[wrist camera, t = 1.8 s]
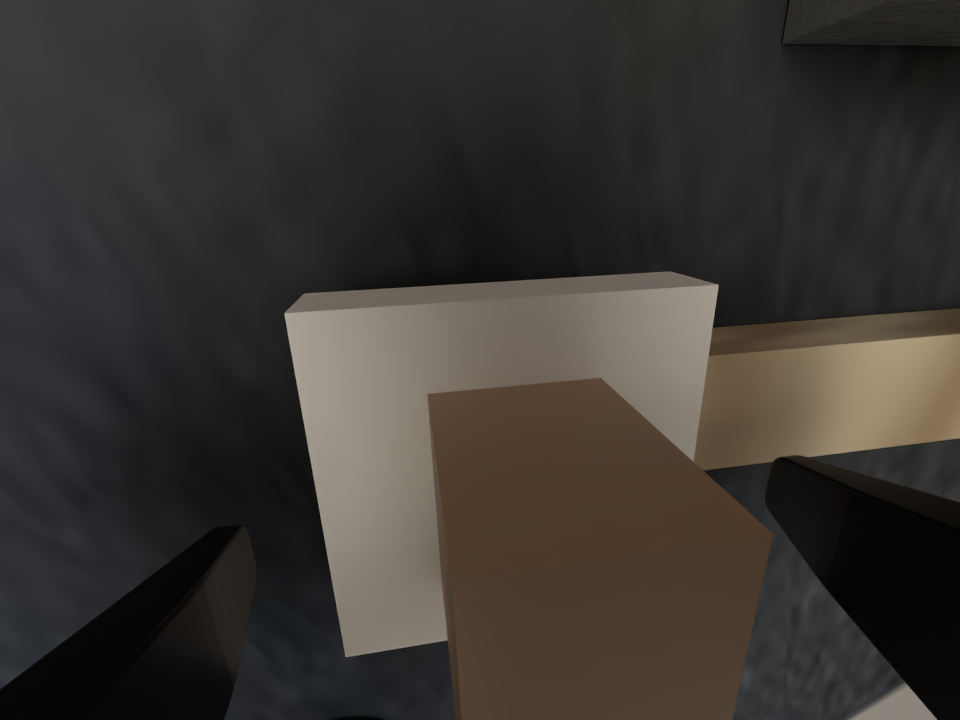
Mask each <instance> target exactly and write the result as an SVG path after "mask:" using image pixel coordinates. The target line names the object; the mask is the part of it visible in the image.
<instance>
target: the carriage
mask: <svg viewBox="0 0 960 720" xmlns="http://www.w3.org/2000/svg"><path fill="white" fill-rule="evenodd" d="M718 286H719V285H718V284H714V283H710V282H707V281H703V280H700V279H696V278H692V277H689V276H685V275H682V274H678V273H674V272H671V271H670V272H653V273H636V274H620V275H603V276H587V277H570V278H554V279H537V280H520V281H504V282H487V283H471V284H454V285H438V286H421V287H404V288H388V289H371V290H355V291H338V292H322V293H305V294H303V295H302V296H301V297H300V298H299V299H298V300H297V301H296V302H295V303H294V304H293V305H292V306H291V307H290V308H289V309H288V310H287V311H286V312H285V313H284V315H285V320H286V326H287V331H288V337H289V343H290V348H291V354H292V359H293V365H294V371H295V376H296V382H297V388H298V393H299V399H300V404H301V410H302V416H303V421H304V427H305V432H306V438H307V444H308V449H309V455H310V460H311V466H312V472H313V477H314V483H315V489H316V494H317V500H318V505H319V511H320V517H321V522H322V528H323V533H324V539H325V545H326V550H327V556H328V561H329V567H330V573H331V578H332V584H333V590H334V595H335V601H336V606H337V612H338V618H339V623H340V629H341V634H342V640H343V646H344V651H345V657H351V656H357V655H363V654H369V653H375V652H381V651H386V650H392V649H398V648H404V647H410V646H416V645H422V644H428V643H434V642H440V641H446V640H448V648H449V657H450V667H451V676H452V686H453V695H454V705H455V714H456V720H732V718H733V714H734V709H735V705H736V700H737V696H738V691H739V687H740V682H741V678H742V673H743V669H744V664H745V660H746V655H747V651H748V646H749V642H750V637H751V633H752V629H753V624H754V620H755V615H756V611H757V606H758V602H759V597H760V593H761V588H762V584H763V579H764V575H765V570H766V566H767V561H768V557H769V552H770V548H771V544H772V539H773V535H774V534H772V533H771V532H770V531H769V530H768V529H767V528H766V527H765V526H764V525H763V524H761V523H760V522H759V521H758V520H757V519H756V518H755V517H754V516H753V515H751V514H750V513H749V512H748V511H747V510H746V509H745V508H744V507H743V506H742V505H740V504H739V503H738V502H737V501H736V500H735V499H734V498H733V497H732V496H731V495H729V494H728V493H727V492H726V491H725V490H724V489H723V488H722V487H721V486H720V485H718V484H717V483H716V482H715V481H714V480H713V479H712V478H711V477H710V476H708V475H707V474H706V473H705V472H704V471H703V470H702V469H701V468H700V467H699V466H697V465H696V464H695V463H694V462H693V461H694V454H695V447H696V440H697V433H698V426H699V419H700V412H701V405H702V398H703V391H704V384H705V377H706V370H707V363H708V356H709V349H710V342H711V335H712V328H713V321H714V314H715V307H716V300H717V293H718Z"/></svg>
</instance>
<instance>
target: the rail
mask: <svg viewBox="0 0 960 720" xmlns="http://www.w3.org/2000/svg"><path fill="white" fill-rule="evenodd" d="M957 438H960V308H956V309H943V310H930V311H918V312H905V313H893V314H880V315H868V316H855V317H842V318H830V319H817V320H805V321H792V322H780V323H767V324H754V325H742V326H729V327H717V328H712V335H711V342H710V349H709V356H708V363H707V370H706V377H705V384H704V391H703V398H702V405H701V412H700V419H699V426H698V433H697V440H696V447H695V454H694V461H693V462H694V463H695V464H696V465H697V466H699V467H700V468H701V469H702V470H710V469H718V468H726V467H734V466H742V465H750V464H758V463H766V462H773V461H774V460H775V459H776V458H778V457H783V456H791V455H801V456H805V457H814V456H822V455H830V454H838V453H846V452H854V451H861V450H869V449H877V448H885V447H893V446H901V445H909V444H917V443H925V442H933V441H941V440H949V439H957Z"/></svg>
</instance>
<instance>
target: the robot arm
mask: <svg viewBox="0 0 960 720" xmlns="http://www.w3.org/2000/svg"><path fill="white" fill-rule="evenodd" d="M765 502H766V505H767V508H768V510H769V511H770V513H771V514H772V515H773V517H774V518H775V520H776V521H777V522H778V524H779V525H780V527H781V528H782V529H783V531H784V532H785V533H786V535H787V536H788V538H789V539H790V540H791V542H792V543H793V545H794V546H795V547H796V549H797V550H798V551H799V553H800V554H801V556H802V557H803V558H804V560H805V561H806V563H807V564H808V565H809V567H810V568H811V569H812V571H813V572H814V574H815V575H816V576H817V578H818V579H819V580H820V582H821V583H822V584H823V586H824V587H825V588H826V589H827V591H828V592H829V593H830V594H831V595H832V597H833V598H834V599H835V600H836V601H837V603H838V604H839V605H840V606H841V607H842V608H843V610H844V611H845V612H846V613H847V614H848V616H849V617H850V618H851V619H852V620H853V621H854V623H855V624H856V625H857V626H858V627H859V628H860V630H861V631H862V632H863V633H864V634H865V635H866V637H867V638H868V639H869V640H870V641H871V643H872V644H873V645H874V646H875V647H876V648H877V650H878V651H879V652H880V653H881V654H882V655H883V657H884V658H885V659H886V660H887V661H888V662H889V664H890V665H891V666H892V667H893V668H894V669H895V671H896V672H897V673H898V674H899V675H900V677H901V678H902V679H903V680H904V681H905V682H906V684H907V685H908V686H909V687H910V688H911V689H912V691H913V692H914V693H915V694H916V695H917V696H918V698H919V699H920V700H921V701H922V702H923V703H924V705H925V706H926V707H927V708H928V709H929V711H930V712H931V713H932V714H933V715H934V716H935V718H936V719H937V720H960V502H958V501H954V500H951V499H947V498H944V497H941V496H937V495H934V494H930V493H927V492H924V491H920V490H917V489H913V488H910V487H907V486H903V485H900V484H897V483H893V482H890V481H886V480H883V479H880V478H876V477H873V476H869V475H866V474H863V473H859V472H856V471H852V470H849V469H846V468H842V467H839V466H835V465H832V464H829V463H825V462H822V461H819V460H815V459H812V458H808V457H805V456H801V455H791V456H783V457H778V458H776V459H775V460H774V461H773V462H772V464H771V468H770V473H769V478H768V483H767V487H766V492H765ZM256 582H257V566H256V562H255V557H254V553H253V549H252V545H251V541H250V537H249V533H248V530H247V529H246V527H245V526H243V525H242V524H238V525H230V526H222V527H216V528H214V529H212V530H211V531H210V532H208V533H207V534H206V535H204V536H203V537H202V538H200V539H199V540H198V541H196V542H195V543H194V544H192V545H191V546H190V547H188V548H187V549H186V550H184V551H183V552H182V553H180V554H179V555H178V556H176V557H175V558H174V559H172V560H171V561H170V562H169V563H167V564H166V565H165V566H163V567H162V568H161V569H159V570H158V571H157V572H155V573H154V574H153V575H151V576H150V577H149V578H147V579H146V580H145V581H143V582H142V583H141V584H139V585H138V586H137V587H135V588H134V589H133V590H131V591H130V592H129V593H127V594H126V595H125V596H123V597H122V598H121V599H119V600H118V601H117V602H116V603H114V604H113V605H112V606H110V607H109V608H108V609H106V610H105V611H104V612H102V613H101V614H100V615H98V616H97V617H96V618H94V619H93V620H92V621H90V622H89V623H88V624H86V625H85V626H84V627H82V628H81V629H80V630H78V631H77V632H76V633H74V634H73V635H72V636H70V637H69V638H68V639H66V640H65V641H64V642H62V643H61V644H60V645H58V646H57V647H56V648H55V649H53V650H52V651H51V652H49V653H48V654H47V655H45V656H44V657H43V658H41V659H40V660H39V661H37V662H36V663H35V664H33V665H32V666H31V667H29V668H28V669H27V670H25V671H24V672H23V673H21V674H20V675H19V676H17V677H16V678H15V679H13V680H12V681H11V682H9V683H8V684H7V685H5V686H4V687H3V688H1V689H0V720H224V719H225V715H226V712H227V709H228V706H229V703H230V699H231V696H232V692H233V689H234V685H235V681H236V677H237V672H238V668H239V663H240V658H241V654H242V649H243V644H244V639H245V635H246V630H247V625H248V620H249V616H250V611H251V606H252V601H253V596H254V592H255V587H256Z"/></svg>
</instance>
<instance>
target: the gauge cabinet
mask: <svg viewBox="0 0 960 720" xmlns="http://www.w3.org/2000/svg"><path fill="white" fill-rule="evenodd" d="M782 44H827V45H902V46H960V0H789V6H788V12H787V18H786V25H785V31H784V37H783V43H782Z"/></svg>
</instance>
